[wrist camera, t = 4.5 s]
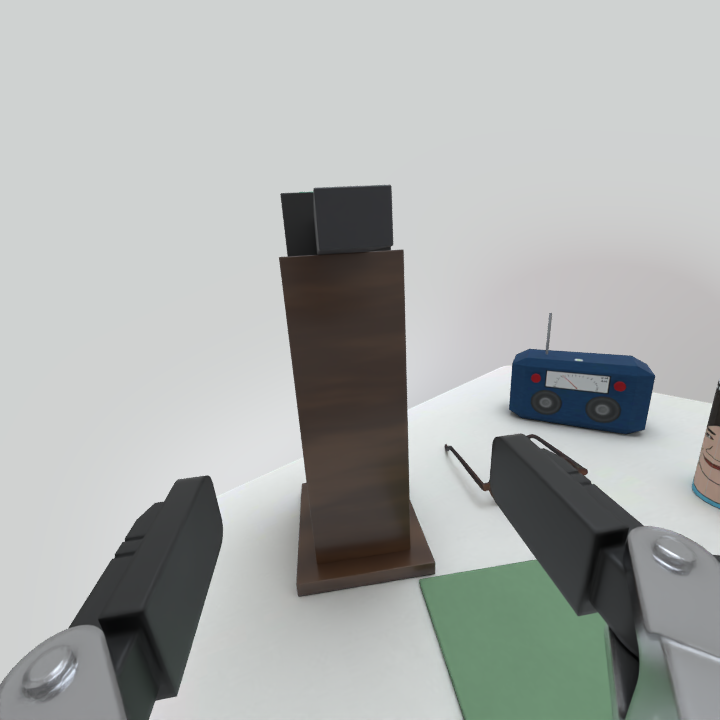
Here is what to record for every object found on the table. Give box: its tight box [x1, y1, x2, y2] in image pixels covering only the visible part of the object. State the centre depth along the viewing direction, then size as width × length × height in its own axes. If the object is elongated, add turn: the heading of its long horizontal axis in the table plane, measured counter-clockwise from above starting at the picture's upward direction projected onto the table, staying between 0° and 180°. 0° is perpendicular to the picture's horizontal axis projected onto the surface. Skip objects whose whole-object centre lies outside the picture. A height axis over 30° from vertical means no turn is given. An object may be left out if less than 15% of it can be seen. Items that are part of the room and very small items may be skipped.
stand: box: [279, 250, 435, 596], centre depth 37 cm, size 16×14×32 cm
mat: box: [419, 560, 613, 720], centre depth 27 cm, size 16×16×1 cm
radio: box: [509, 313, 655, 434], centre depth 62 cm, size 21×9×20 cm, turn 60°
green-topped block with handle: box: [281, 185, 393, 257], centre depth 27 cm, size 21×9×5 cm, turn 7°
